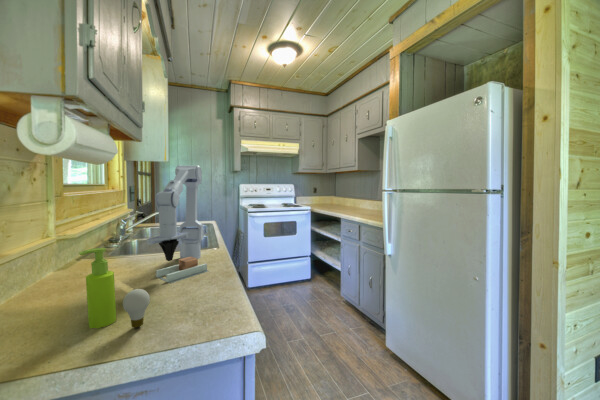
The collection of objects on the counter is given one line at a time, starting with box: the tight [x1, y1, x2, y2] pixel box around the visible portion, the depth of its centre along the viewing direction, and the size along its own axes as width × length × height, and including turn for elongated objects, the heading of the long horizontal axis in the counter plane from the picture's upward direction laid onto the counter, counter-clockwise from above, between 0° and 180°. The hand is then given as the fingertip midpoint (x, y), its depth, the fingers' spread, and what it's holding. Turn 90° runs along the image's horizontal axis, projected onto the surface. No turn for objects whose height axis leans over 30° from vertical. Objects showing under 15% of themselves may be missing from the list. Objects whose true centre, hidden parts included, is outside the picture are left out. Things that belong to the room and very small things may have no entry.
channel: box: [154, 263, 210, 284], centre depth 103 cm, size 12×16×4 cm
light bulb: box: [122, 288, 151, 329], centre depth 68 cm, size 6×6×10 cm
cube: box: [178, 257, 199, 271], centre depth 105 cm, size 5×5×5 cm
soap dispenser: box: [78, 247, 117, 329], centre depth 70 cm, size 6×7×20 cm
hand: (169, 260), depth 99 cm, fingers closed
